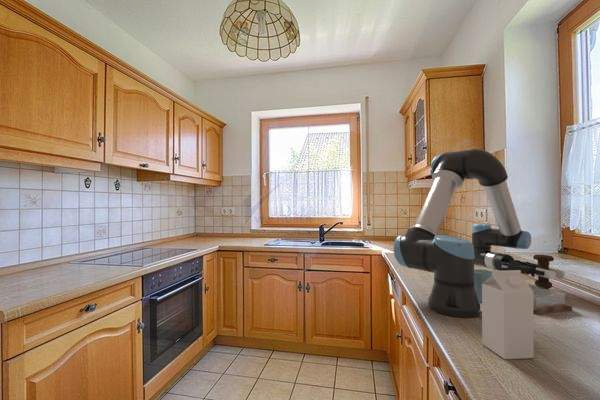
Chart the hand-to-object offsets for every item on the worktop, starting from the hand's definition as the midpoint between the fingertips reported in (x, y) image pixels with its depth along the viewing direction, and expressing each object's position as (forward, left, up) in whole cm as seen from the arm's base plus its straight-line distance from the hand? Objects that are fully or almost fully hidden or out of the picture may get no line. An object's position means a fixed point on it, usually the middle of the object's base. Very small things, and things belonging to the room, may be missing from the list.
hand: (559, 275), depth 104 cm
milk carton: (-50, -24, -9) cm, 56 cm away
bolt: (0, +5, -9) cm, 11 cm away
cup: (-26, +6, -9) cm, 28 cm away
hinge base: (-13, -1, -9) cm, 16 cm away
